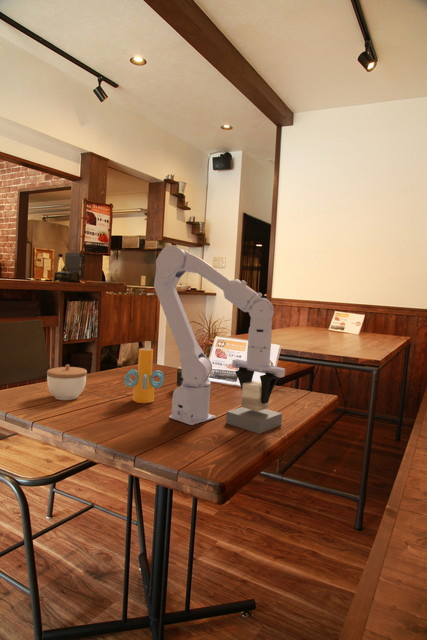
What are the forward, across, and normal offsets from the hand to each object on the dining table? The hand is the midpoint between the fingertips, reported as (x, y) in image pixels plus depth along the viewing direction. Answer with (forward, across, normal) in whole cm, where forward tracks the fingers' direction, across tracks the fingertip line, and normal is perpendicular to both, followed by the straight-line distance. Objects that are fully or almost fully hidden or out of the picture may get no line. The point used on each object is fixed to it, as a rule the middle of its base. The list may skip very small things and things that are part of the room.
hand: (255, 400), depth 105 cm
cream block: (+2, 0, 0) cm, 2 cm away
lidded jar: (+6, +49, +23) cm, 54 cm away
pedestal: (+6, 0, 0) cm, 6 cm away
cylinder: (+6, +33, +8) cm, 35 cm away
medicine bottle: (+6, +35, -14) cm, 38 cm away
